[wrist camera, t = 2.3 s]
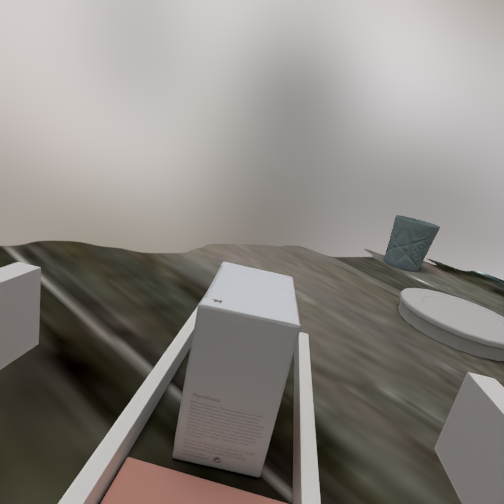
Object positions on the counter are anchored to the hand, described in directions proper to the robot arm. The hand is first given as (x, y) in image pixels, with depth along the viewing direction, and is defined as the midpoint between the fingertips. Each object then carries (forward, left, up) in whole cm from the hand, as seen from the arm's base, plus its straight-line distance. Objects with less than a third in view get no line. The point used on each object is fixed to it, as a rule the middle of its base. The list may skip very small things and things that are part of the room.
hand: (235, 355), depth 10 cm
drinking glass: (+33, +75, -12) cm, 83 cm away
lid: (+30, +41, -13) cm, 53 cm away
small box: (0, +10, -13) cm, 16 cm away
